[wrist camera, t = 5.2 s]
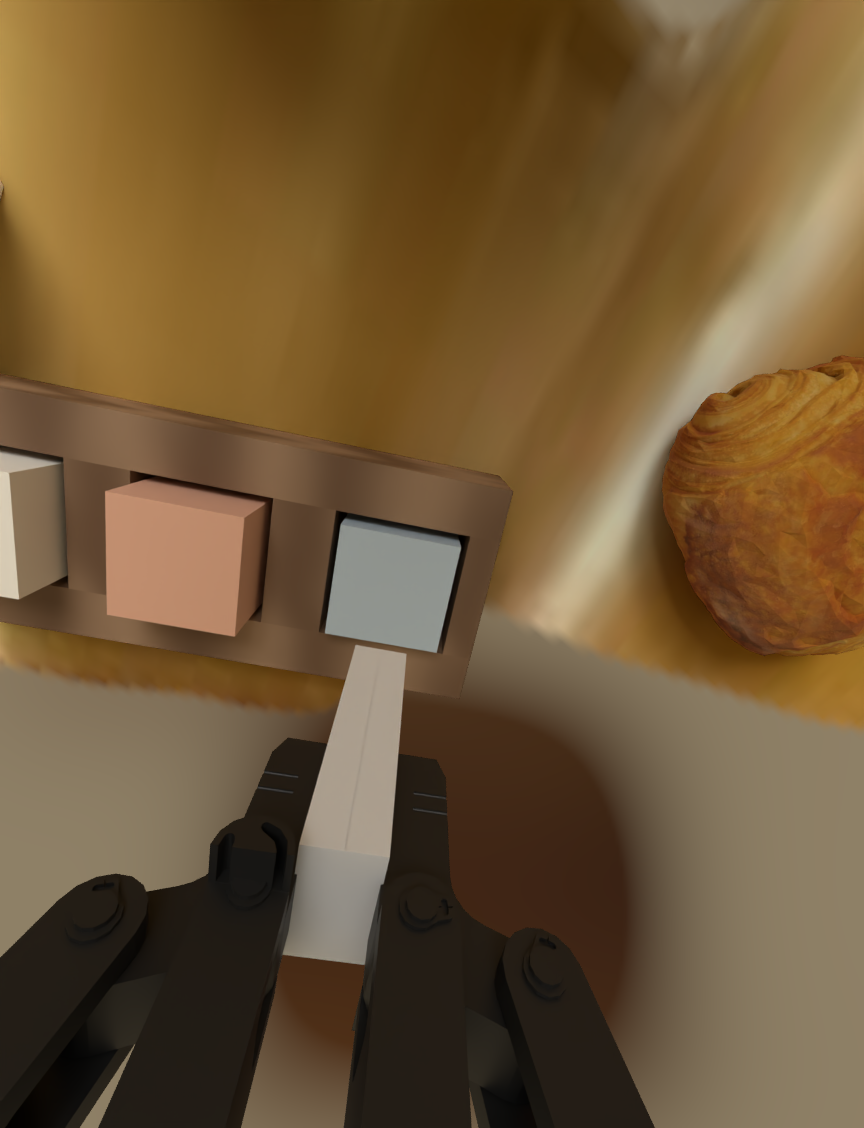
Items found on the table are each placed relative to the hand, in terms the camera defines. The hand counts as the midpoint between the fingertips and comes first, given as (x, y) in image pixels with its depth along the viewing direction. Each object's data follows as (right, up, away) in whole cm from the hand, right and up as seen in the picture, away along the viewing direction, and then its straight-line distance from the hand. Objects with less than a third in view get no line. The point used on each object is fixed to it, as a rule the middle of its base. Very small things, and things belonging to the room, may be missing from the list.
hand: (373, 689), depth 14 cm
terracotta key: (-9, +5, +10) cm, 14 cm away
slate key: (0, +4, +12) cm, 13 cm away
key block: (-9, +6, +12) cm, 16 cm away
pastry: (+21, +7, +12) cm, 26 cm away
